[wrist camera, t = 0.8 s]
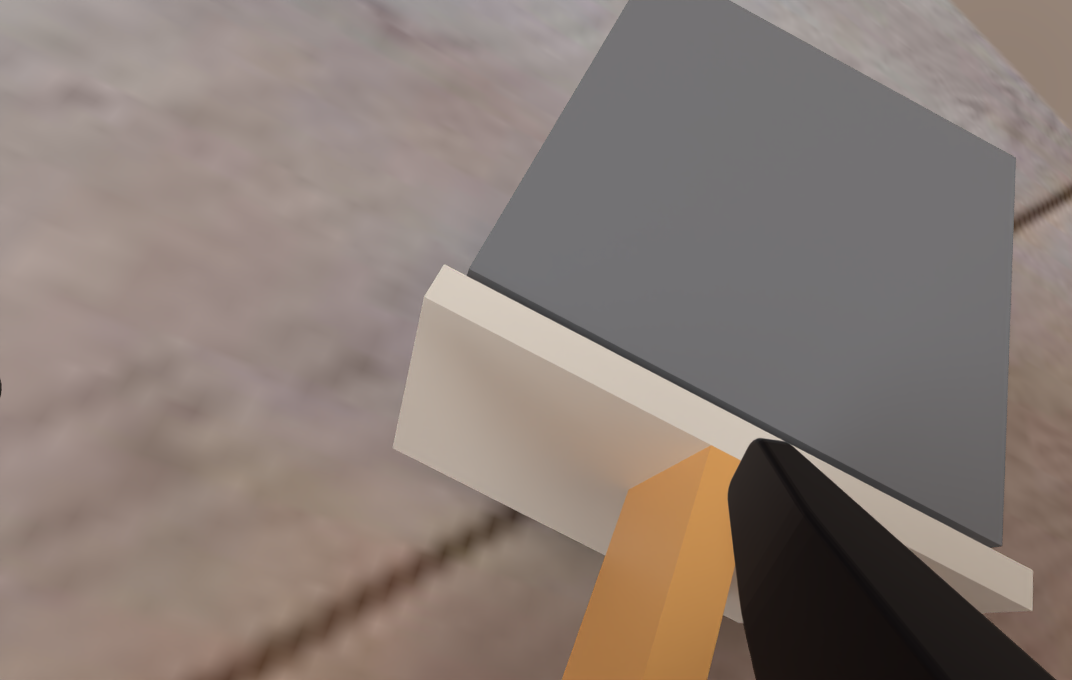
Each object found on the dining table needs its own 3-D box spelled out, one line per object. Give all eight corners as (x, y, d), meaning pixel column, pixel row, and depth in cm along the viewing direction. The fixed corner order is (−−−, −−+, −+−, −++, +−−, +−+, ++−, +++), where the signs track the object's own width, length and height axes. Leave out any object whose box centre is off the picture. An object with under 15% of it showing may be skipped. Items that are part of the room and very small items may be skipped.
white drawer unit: (699, 793, 19) (1028, 941, 10) (306, 600, 18) (258, 561, 9) (802, 346, 27) (1037, 195, 18) (531, 203, 26) (627, -29, 17)
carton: (722, 585, 22) (1002, 546, 13) (417, 431, 22) (468, 268, 12) (789, 322, 28) (1015, 157, 19) (549, 195, 28) (653, -42, 18)
